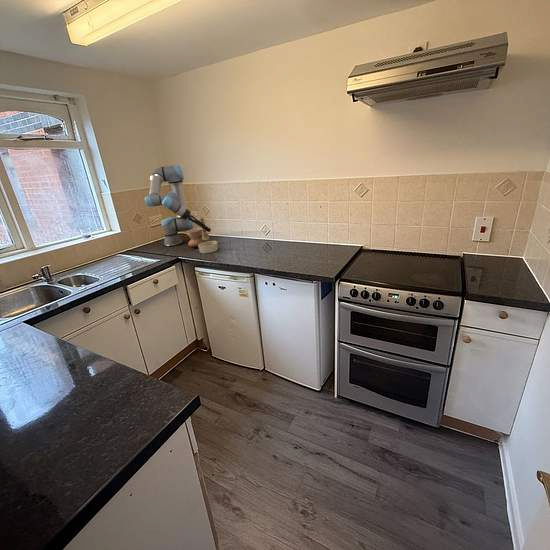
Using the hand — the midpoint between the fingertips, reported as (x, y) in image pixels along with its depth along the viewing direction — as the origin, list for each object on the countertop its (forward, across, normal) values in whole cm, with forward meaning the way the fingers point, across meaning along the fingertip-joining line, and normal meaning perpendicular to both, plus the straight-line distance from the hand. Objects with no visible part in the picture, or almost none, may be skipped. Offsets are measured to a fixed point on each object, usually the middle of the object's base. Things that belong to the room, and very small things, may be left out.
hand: (209, 230), depth 228 cm
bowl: (+9, 0, -13) cm, 16 cm away
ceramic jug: (+7, -21, -15) cm, 27 cm away
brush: (+1, 0, -7) cm, 7 cm away
